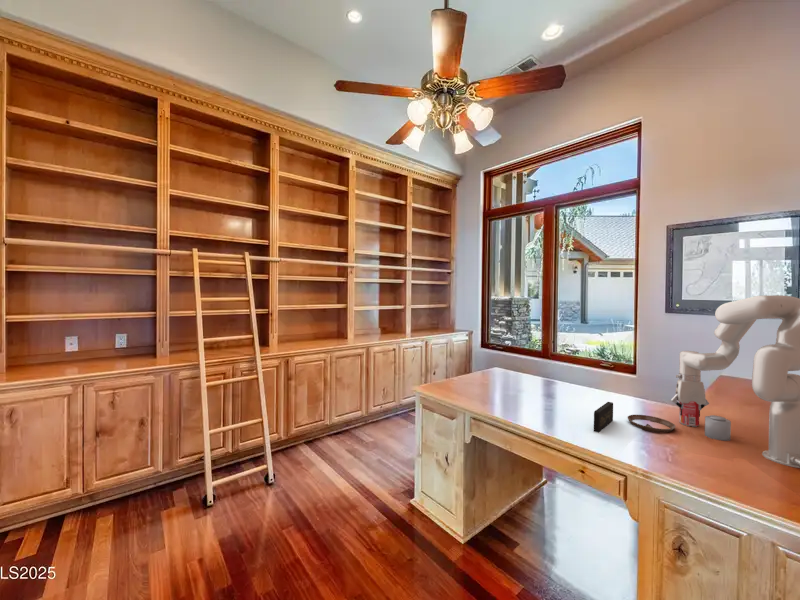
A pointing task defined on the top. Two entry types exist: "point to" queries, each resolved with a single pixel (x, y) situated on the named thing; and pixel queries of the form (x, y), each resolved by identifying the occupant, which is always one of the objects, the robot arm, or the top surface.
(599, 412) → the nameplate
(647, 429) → the plant saucer
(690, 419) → the soda can
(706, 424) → the grey ceramic cup
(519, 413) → the top surface
